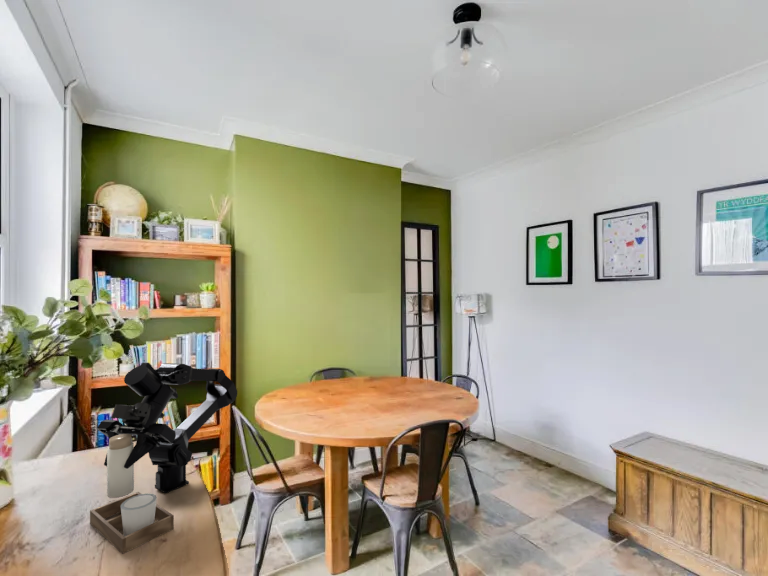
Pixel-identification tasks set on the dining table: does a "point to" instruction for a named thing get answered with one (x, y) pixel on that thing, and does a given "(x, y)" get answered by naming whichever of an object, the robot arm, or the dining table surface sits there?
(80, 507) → the dining table surface
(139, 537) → the walnut caddy
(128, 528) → the white cup
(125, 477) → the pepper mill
